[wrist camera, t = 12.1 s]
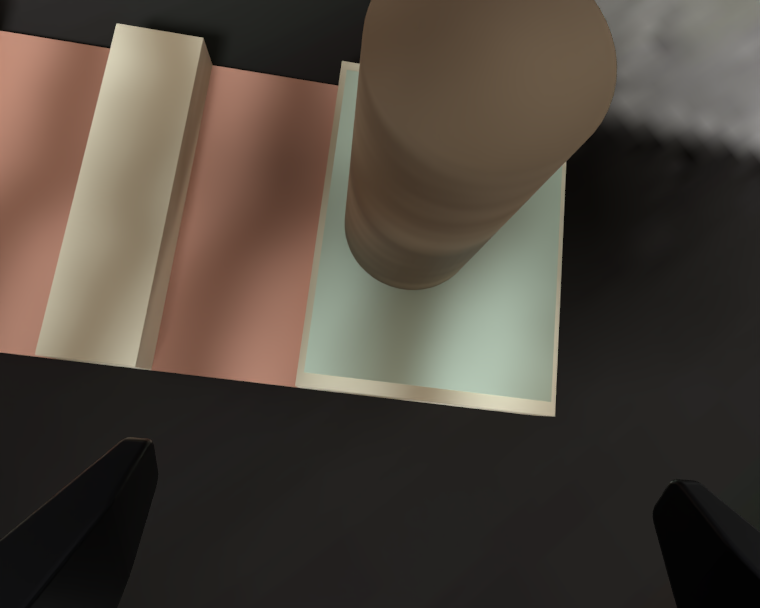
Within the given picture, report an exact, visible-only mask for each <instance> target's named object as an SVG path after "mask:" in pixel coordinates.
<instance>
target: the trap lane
mask: <svg viewBox="0 0 760 608" xmlns="http://www.w3.org/2000/svg"><path fill="white" fill-rule="evenodd" d="M359 66H360V64H358V63H352V62H345V61H342V65H341V72H340V78H339V85H338V86H337V85H331V84H325V83H319V82H312V81H306V80H300V79H294V78H288V77H282V76H275V75H269V74H263V73H257V72H251V71H245V70H239V69H232V68H226V67H220V66H214V65H212V62H211V59H210V56H209V53H208V50H207V47H206V44H205V41H204V38H201V37H195V36H189V35H183V34H177V33H171V32H165V31H159V30H153V29H147V28H141V27H135V26H129V25H123V24H116V28H115V32H114V36H113V40H112V44H111V48H110V49H109V48H103V47H97V46H91V45H85V44H79V43H73V42H66V41H60V40H54V39H48V38H42V37H36V36H30V35H23V34H17V33H11V32H5V31H0V352H1V353H9V354H18V355H26V356H35V357H43V358H52V359H60V360H69V361H77V362H85V363H94V364H102V365H111V366H119V367H128V368H136V369H145V370H153V371H162V372H170V373H179V374H187V375H196V376H204V377H212V378H221V379H229V380H238V381H246V382H255V383H263V384H272V385H280V386H289V387H297V388H306V389H314V390H323V391H331V392H339V393H348V394H356V395H365V396H373V397H382V398H390V399H399V400H407V401H416V402H424V403H433V404H441V405H450V406H458V407H466V408H475V409H483V410H492V411H500V412H509V413H517V414H526V415H535V416H555V402H556V380H557V358H558V336H559V313H560V291H561V269H562V247H563V224H564V202H565V180H566V162H565V163H564V164H563V165H562V166H561V167H560V168H559V169H558V170H557V171H556V172H555V173H554V174H553V175H552V176H551V177H550V178H549V179H548V180H547V181H546V182H545V183H544V184H543V185H542V186H541V187H540V188H539V189H538V191H537V192H536V193H535V194H534V195H533V196H532V197H531V198H530V199H529V200H528V201H527V202H526V203H525V204H524V205H523V206H522V207H521V208H520V209H519V210H518V211H517V212H516V213H515V214H514V215H513V216H512V217H511V218H510V219H509V220H508V221H507V222H506V223H505V224H504V225H503V226H502V227H501V228H500V229H499V230H498V231H497V232H496V233H495V234H494V235H493V236H492V238H491V239H490V240H489V241H488V242H487V243H486V244H485V245H484V246H483V247H482V248H481V249H480V250H479V251H478V252H477V253H476V254H475V255H474V256H473V257H472V258H471V259H470V260H469V261H468V262H467V263H466V264H465V265H464V266H463V267H462V268H461V269H460V270H459V271H458V272H457V273H456V274H455V275H454V276H453V277H451V278H450V279H449V280H447V281H445V282H443V283H442V284H439V285H437V286H434V287H431V288H427V289H421V290H405V289H398V288H395V287H391V286H388V285H386V284H384V283H382V282H380V281H378V280H376V279H375V278H373V277H372V276H371V275H369V274H368V273H367V272H366V271H365V270H364V269H363V268H362V267H361V266H360V265H359V264H358V262H357V261H356V260H355V258H354V256H353V254H352V253H351V251H350V248H349V246H348V243H347V239H346V235H345V210H346V200H347V190H348V179H349V169H350V159H351V149H352V138H353V128H354V118H355V107H356V97H357V87H358V76H359Z"/></svg>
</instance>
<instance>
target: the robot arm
mask: <svg viewBox="0 0 760 608" xmlns="http://www.w3.org/2000/svg"><path fill="white" fill-rule="evenodd" d="M157 479H158V469H157V463H156V457H155V450H154V445H153V442H152V441H151V440H150V439H145V438H132V437H129V438H125V439H123V440H122V441H120V442H119V443H118V444H117V445H115V446H114V447H113V448H112V449H111V450H109V451H108V452H107V453H106V454H104V455H103V456H102V457H101V458H100V459H98V460H97V461H96V462H95V463H93V464H92V465H91V466H90V467H89V468H87V469H86V470H85V471H84V472H83V473H81V474H80V475H79V476H78V477H76V478H75V479H74V480H73V481H72V482H70V483H69V484H68V485H67V486H65V487H64V488H63V489H62V490H61V491H59V492H58V493H57V494H56V495H54V496H53V497H52V498H51V499H50V500H48V501H47V502H46V503H45V504H44V505H42V506H41V507H40V508H39V509H37V510H36V511H35V512H34V513H33V514H31V515H30V516H29V517H28V518H26V519H25V520H24V521H23V522H22V523H20V524H19V525H18V526H17V527H16V528H14V529H13V530H12V531H11V532H9V533H8V534H7V535H6V536H5V537H3V538H2V539H1V540H0V608H117V606H118V604H119V601H120V599H121V597H122V594H123V592H124V589H125V586H126V584H127V581H128V579H129V576H130V573H131V570H132V566H133V563H134V560H135V557H136V553H137V550H138V546H139V543H140V540H141V536H142V533H143V529H144V526H145V523H146V519H147V516H148V512H149V509H150V506H151V502H152V499H153V495H154V492H155V489H156V485H157ZM653 521H654V525H655V529H656V533H657V536H658V540H659V544H660V547H661V551H662V555H663V559H664V562H665V566H666V570H667V573H668V577H669V581H670V584H671V588H672V592H673V595H674V598H675V602H676V605H677V608H760V532H759V531H758V530H757V529H756V528H755V527H753V526H752V525H751V524H750V523H748V522H747V521H746V520H745V519H744V518H742V517H741V516H740V515H739V514H738V513H736V512H735V511H734V510H733V509H731V508H730V507H729V506H728V505H727V504H725V503H724V502H723V501H722V500H720V499H719V498H718V497H717V496H716V495H714V494H713V493H712V492H711V491H709V490H708V489H707V488H706V487H705V486H703V485H702V484H701V483H699V482H696V481H692V480H679V479H676V480H673V481H671V482H670V483H669V484H668V486H667V488H666V489H665V491H664V492H663V494H662V495H661V497H660V499H659V500H658V502H657V503H656V505H655V507H654V510H653Z"/></svg>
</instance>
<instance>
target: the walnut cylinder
mask: <svg viewBox="0 0 760 608" xmlns="http://www.w3.org/2000/svg"><path fill="white" fill-rule="evenodd" d="M616 77H617V61H616V51H615V46H614V42H613V38H612V35H611V32H610V29H609V27H608V24H607V22H606V20H605V18H604V16H603V14H602V12H601V10H600V8H599V7H598V5H597V4H596V2H595V1H594V0H371V2H370V4H369V7H368V11H367V14H366V17H365V22H364V28H363V35H362V45H361V56H360V66H359V76H358V87H357V97H356V107H355V118H354V128H353V138H352V149H351V159H350V169H349V179H348V190H347V200H346V210H345V235H346V239H347V243H348V246H349V248H350V251H351V253H352V254H353V256H354V258H355V260H356V261H357V262H358V264H359V265H360V266H361V267H362V268H363V269H364V270H365V271H366V272H367V273H368V274H369V275H371V276H372V277H373V278H375V279H376V280H378V281H380V282H382V283H384V284H386V285H388V286H391V287H395V288H398V289H405V290H421V289H427V288H431V287H434V286H437V285H439V284H442V283H443V282H445V281H447V280H449V279H450V278H451V277H453V276H454V275H455V274H456V273H457V272H458V271H459V270H460V269H461V268H462V267H463V266H464V265H465V264H466V263H467V262H468V261H469V260H470V259H471V258H472V257H473V256H474V255H475V254H476V253H477V252H478V251H479V250H480V249H481V248H482V247H483V246H484V245H485V244H486V243H487V242H488V241H489V240H490V239H491V238H492V236H493V235H494V234H495V233H496V232H497V231H498V230H499V229H500V228H501V227H502V226H503V225H504V224H505V223H506V222H507V221H508V220H509V219H510V218H511V217H512V216H513V215H514V214H515V213H516V212H517V211H518V210H519V209H520V208H521V207H522V206H523V205H524V204H525V203H526V202H527V201H528V200H529V199H530V198H531V197H532V196H533V195H534V194H535V193H536V192H537V191H538V189H539V188H540V187H541V186H542V185H543V184H544V183H545V182H546V181H547V180H548V179H549V178H550V177H551V176H552V175H553V174H554V173H555V172H556V171H557V170H558V169H559V168H560V167H561V166H562V165H563V164H564V163H565V162H566V161H567V160H568V159H569V158H570V157H571V156H572V155H573V154H574V153H575V152H576V151H577V150H578V149H579V148H580V147H581V146H582V145H583V144H584V143H585V141H586V140H587V139H588V138H589V137H590V136H591V135H592V134H593V133H594V132H595V130H596V129H597V128H598V126H599V125H600V124H601V122H602V121H603V119H604V117H605V115H606V113H607V111H608V109H609V107H610V104H611V101H612V98H613V95H614V90H615V85H616Z"/></svg>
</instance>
